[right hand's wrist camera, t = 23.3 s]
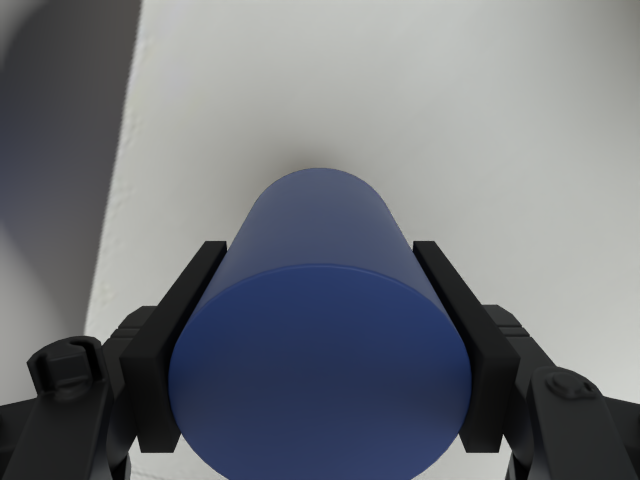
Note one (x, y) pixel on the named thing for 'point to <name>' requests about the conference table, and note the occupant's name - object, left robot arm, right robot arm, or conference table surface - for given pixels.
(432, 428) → the can
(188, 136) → the conference table surface
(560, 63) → the conference table surface
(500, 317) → the right robot arm
